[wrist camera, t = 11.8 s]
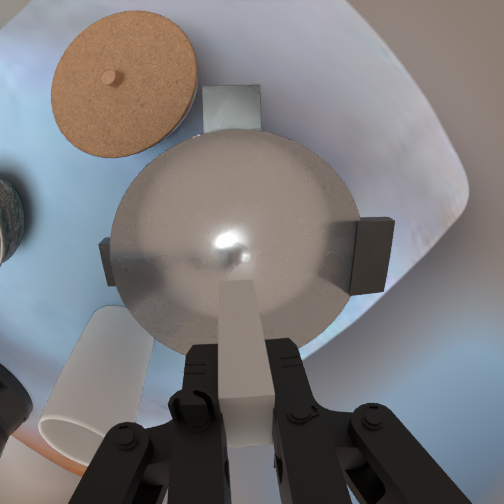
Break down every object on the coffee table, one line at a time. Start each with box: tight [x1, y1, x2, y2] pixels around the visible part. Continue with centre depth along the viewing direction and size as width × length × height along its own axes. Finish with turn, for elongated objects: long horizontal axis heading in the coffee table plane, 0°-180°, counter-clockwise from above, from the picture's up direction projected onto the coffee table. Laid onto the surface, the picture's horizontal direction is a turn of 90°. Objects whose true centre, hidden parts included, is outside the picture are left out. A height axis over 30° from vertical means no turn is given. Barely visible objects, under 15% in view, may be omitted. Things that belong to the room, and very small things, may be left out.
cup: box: [38, 306, 154, 466], centre depth 25 cm, size 8×8×16 cm
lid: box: [110, 130, 395, 356], centre depth 18 cm, size 17×15×2 cm
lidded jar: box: [51, 11, 198, 158], centre depth 19 cm, size 11×11×9 cm
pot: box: [98, 85, 269, 286], centre depth 23 cm, size 16×21×10 cm
